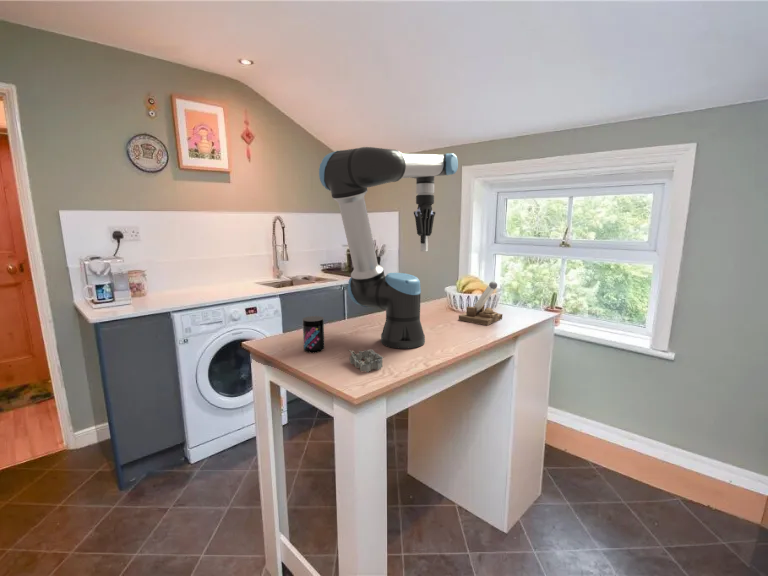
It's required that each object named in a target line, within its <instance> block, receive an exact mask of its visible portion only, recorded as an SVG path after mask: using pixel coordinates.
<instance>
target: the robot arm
mask: <svg viewBox="0 0 768 576" xmlns="http://www.w3.org/2000/svg"><path fill="white" fill-rule="evenodd" d="M458 167H459V159H458V157H457V155H456V154H455V153H448V152H447V153H441V154H440V153H437V154H435V153H404V152H403V153H402V152H401V151H400V150H398V149H391V148H382V147H374V146H363V147H357V148H351V149H349V148H348V149H343V150H336V151H333V152H329V153H327V154H325V156H324V157H323V158H322V160H321V162H320V164H319V168H318V177H319V180H320V183H321V185H322V186H323V188H325V189H326V190H328V192H329V191H330V194H331V198H332V200H334V201H335V202H337V204H338V207H339V212H340V215H341V221H342V224H343V229H344V233H345V237H346V241H347V246H348V249H349V254H350V257H351V258H350V260H351V262H352V266H353V270H352V271H351V273H350V278H349V280H348V285H347V294H348V297H349V298H350V300H351V301H352V302H353V303H354V304H356V305H357V306H361V307H365V308H373V309H379V310H385V322H384V325H383V329H382V331H381V334H380V343H381V344H382V345H384V346H385V347H388V348H392V349H400V350H401V349H402V350H403V349H404V350H405V349H415V348H418V347H419V348H420V347H421V346H424V345H425V342H426V336H425V333H424V329H423V326H422V323H421V295H422V294H421V293H422V289H421V281H420V279H419V277H417V276H415V275H413V274H409V273H405V272H404V273H403V272H390V273H386V275H385V270H384V267H383V266H382V265H380V264H379V263H378V257H377V254H376V253H377V252H376V248H375V245H374V244H375V243H374V238H373V234H372V229H371V224H370V220H369V216H368V215H369V214H368V210H367V205H366V199H365V196H366V194H367V193H368V188H373V187H376V186H377V187H378V186H380V185H386V184H389V183H395V182H399V181H400V180H401V179H409V178H410V179H416V180H415V184H416V186H415V187H416V190H415V193H416V194H417V195H416V197H415V203H416V205H417V209H416V210H415V211H413V216H414V218H415V219H414V220H415V227H416V234H417V235H418V237H419V236H420V240H419V241H420V252H428V251H429V237H431V235H432V234H433V227H434V221H435V220H434V219H435V216H436V211H433V207H432V206H433V205H434V203H435V195H434V194H435V177H438V176H439V177H441V176H450V175H451V176H452V175H455V174H456V173H457V172H458Z"/></svg>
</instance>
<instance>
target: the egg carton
mask: <svg viewBox="0 0 768 576" xmlns="http://www.w3.org/2000/svg"><path fill="white" fill-rule="evenodd" d="M348 352H349V353H351V355H350V356H349V364H351V365H354V367H355V368H356V367H357V368H356V369H359V371H360V372H361V371H366V372H365V373H370V372H371V371H372V370H376V369H377V370H378V371H379V369H380V370H382V368H383V359H384V358H385V356H384V357H383V356H382V355H380V354H379V353H378V352H375V350H373V348H372V349H364V350H363V351H361V350H359V351H358V352H357V353H356V352H355V350H351V349H348ZM362 359H363V361H362ZM358 367H359V368H358ZM371 369H372V370H371ZM377 370H376V371H377ZM369 371H370V372H369Z"/></svg>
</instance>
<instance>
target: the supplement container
mask: <svg viewBox="0 0 768 576" xmlns="http://www.w3.org/2000/svg"><path fill="white" fill-rule="evenodd" d="M324 318H325V317H324V316H319V315H315V316H314V315H312V316H311V315H310V316H306V317H303V318H302V332H303V333H302V337H303V351H305V352H306V353H309V352H311V353H312V354H314V353H315V352H316V353H319V352H323V351H324V349H325V323H324V321H325V319H324ZM313 352H314V353H313Z"/></svg>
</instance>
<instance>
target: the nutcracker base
mask: <svg viewBox="0 0 768 576" xmlns="http://www.w3.org/2000/svg"><path fill="white" fill-rule="evenodd" d="M476 309H477V308H476V307H474V306H466V312H464V313H462V314H459V315H458V321H461V322H467V323H473V324H477V325H483V326H487V325H488V326H490V325H491V323H492V324H494V323H496V322H499V321H500V319H501V320H502V319H503V313H498V312H496V311H493V314H491V315H490V314H485V313H484V310H485V304H484V305H483V307H482V308H481V309H480V311H479V312H477V313H476ZM493 322H494V323H493ZM489 324H490V325H489Z"/></svg>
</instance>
